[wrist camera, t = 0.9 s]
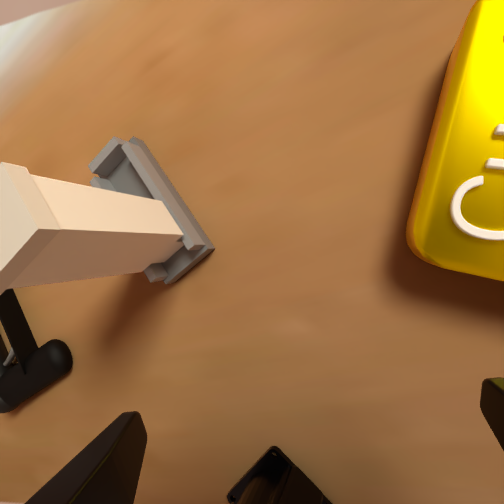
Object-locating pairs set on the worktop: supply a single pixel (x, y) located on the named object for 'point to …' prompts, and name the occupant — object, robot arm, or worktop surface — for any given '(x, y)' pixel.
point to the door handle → (26, 357)
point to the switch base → (153, 187)
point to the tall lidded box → (76, 231)
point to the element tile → (466, 156)
